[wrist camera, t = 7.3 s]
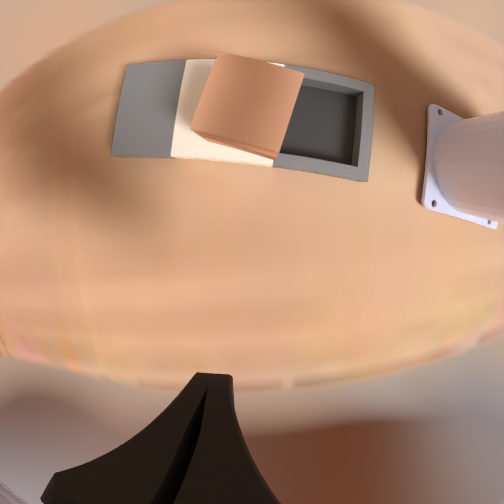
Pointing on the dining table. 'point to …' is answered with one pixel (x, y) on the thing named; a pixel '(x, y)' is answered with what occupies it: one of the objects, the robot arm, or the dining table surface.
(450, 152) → the robot arm
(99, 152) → the dining table surface
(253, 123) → the cube
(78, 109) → the dining table surface
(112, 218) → the dining table surface
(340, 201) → the dining table surface
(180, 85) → the board
